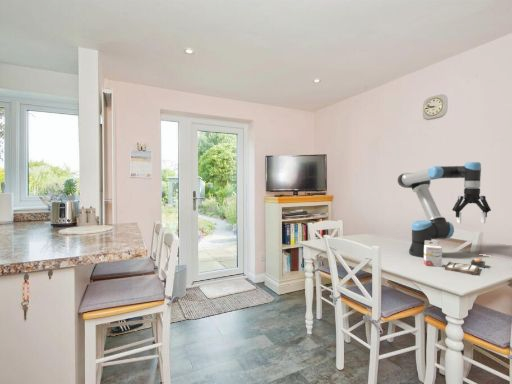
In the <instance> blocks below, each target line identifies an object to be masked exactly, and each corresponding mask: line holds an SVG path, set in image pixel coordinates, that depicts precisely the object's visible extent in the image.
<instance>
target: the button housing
mask: <svg viewBox="0 0 512 384" xmlns="http://www.w3.org/2000/svg"><path fill="white" fill-rule="evenodd" d="M470 265H474V266H479V268H483V269H484V268H485V266H486V261H483V260H482V263H478V262H474V259H471V261H470Z"/></svg>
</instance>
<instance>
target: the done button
mask: <svg viewBox="0 0 512 384" xmlns="http://www.w3.org/2000/svg"><path fill="white" fill-rule="evenodd" d="M473 260H474V262H478V263H482V261H483V258H479V257H474V258H473Z"/></svg>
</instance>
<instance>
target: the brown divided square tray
mask: <svg viewBox="0 0 512 384" xmlns="http://www.w3.org/2000/svg"><path fill="white" fill-rule="evenodd" d="M479 269H480V267H479V266H474V265H471V264H466V263H460V262H455V261H448V262H447V264H446V265H445V266H444V270H445V271H450V272H455V273H461V274H467V275H473V276H477V274H478V272H479Z"/></svg>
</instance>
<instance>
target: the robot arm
mask: <svg viewBox="0 0 512 384" xmlns="http://www.w3.org/2000/svg"><path fill="white" fill-rule="evenodd" d="M481 173H482V164H481V162H479V161H473V162H471V161H468V162H465V163H464V165H456V166H455V165H448V166H447V165H445V166H441V165H439V166H438V165H435V166H431V167H430V168H427V169H423V170H419V171H414V172H404V173H401V174H400V175H399V176H398V177H397V183H398V185H399V186H400V187H402V188H405V189H406V188H407V189H409V188H410V189H411V190H412V192H413V193H415V194H416V196H417V198H418V201H419V202H420V205H421V208H422V210H423V212H424V214H425V216H426V219H427V220H426V219H425V220H416V221H413V222H412V223H411V244H410V246H409V249H408V254H409V255H411V256H414V257H418V258H424V242H425V240H428V241H433V240H446V239H451V238H452V237H453V235H454V233H455V227H454V225H453V223H452V222H450V221H447V220H446V218H445V217H444V216H442V214H441V212H440V211H439V209H438V206H437V204H436V202H435V200H434V198H433V196H432V193H431V191H430V186H431V183H432V182H431V180H440V179H464V180H463V181H464V183H463V185H464V186H463V187H464V189H463V196H462V195H458V197H457V200H456V202H455V203H454V206H453V208H452V209H451V210H452V211H453V212H455V217H456V223H457V224H462V212H461V211H462V210H464V208H465V207H466V206H467V205H468V204H475V205H477V207H478V208H479V209H480V223H481V224H482V223H483V224H486V219H487V218H488V213H489V212H491V211H492V209H491V207H490V204H489V203H488V200H487V199H486V198H487V197H486V195H481V188H480V187H481V176H482V174H481ZM430 243H432V242H430Z"/></svg>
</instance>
